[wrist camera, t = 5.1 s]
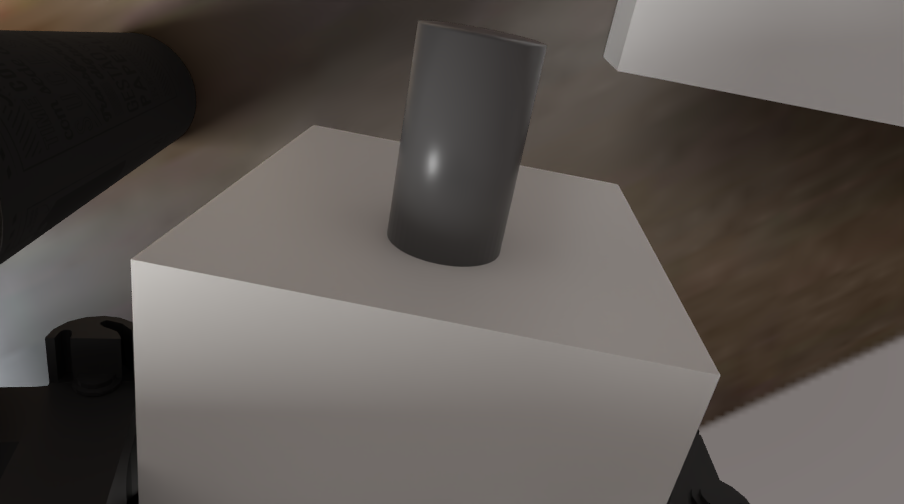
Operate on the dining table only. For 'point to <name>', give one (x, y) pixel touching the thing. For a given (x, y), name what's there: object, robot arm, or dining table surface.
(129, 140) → the drinking cup
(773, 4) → the socket
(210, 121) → the dining table surface
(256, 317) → the plug
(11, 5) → the dining table surface
